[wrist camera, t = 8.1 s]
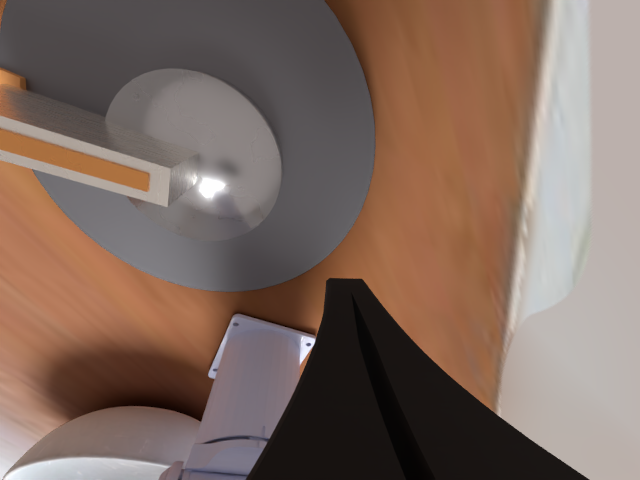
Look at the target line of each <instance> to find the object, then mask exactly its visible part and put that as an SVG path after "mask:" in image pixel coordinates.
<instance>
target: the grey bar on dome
mask: <svg viewBox="0 0 640 480" xmlns="http://www.w3.org/2000/svg"><path fill="white" fill-rule="evenodd" d="M0 160H2V161H6V162H9V163H13V164H16V165H20V166H23V167H27V168H30V169H34V170H38V171H41V172H45V173H48V174H52V175H55V176H59V177H62V178H66V179H70V180H73V181H77V182H80V183H84V184H87V185H91V186H94V187H98V188H101V189H105V190H109V191H112V192H116V193H119V194H123V195H125V196H126V197H127V198H128V199H129V200H130V202H131V203H132V204H133V205H134V206H135V207H136V208H137V209H138V210H139V211H140V212H141V213H143V214H144V215H145V216H146V217H148V218H149V219H150V220H152V221H153V222H155V223H156V224H158V225H159V226H161V227H163V228H165V229H167V230H168V231H171V232H173V233H175V234H178V235H181V236H184V237H187V238H192V239H196V240H204V241H220V240H227V239H232V238H236V237H238V236H241V235H243V234H245V233H247V232H249V231H251V230H253V229H254V228H255V227H257V226H258V225H259V224H260V223H261V222H262V221H263V220H264V219H265V218H266V217H267V216H268V214H269V213H270V212H271V210H272V208H273V206H274V204H275V202H276V199H277V197H278V194H279V190H280V186H281V182H282V177H283V157H282V151H281V146H280V143H279V140H278V137H277V135H276V132H275V130H274V128H273V126H272V124H271V122H270V121H269V119H268V117H267V116H266V115H265V113H264V112H263V111H262V109H261V108H260V107H259V106H258V105H257V104H256V103H255V102H254V100H253V99H252V98H251V97H249V96H248V95H247V94H246V93H245V92H243V91H242V90H241V89H239V88H238V87H236V86H235V85H233V84H231V83H230V82H228V81H226V80H223V79H221V78H219V77H217V76H213V75H210V74H207V73H202V72H197V71H191V70H185V69H169V68H168V69H160V70H154V71H151V72H148V73H144V74H142V75H140V76H138V77H136V78H134V79H132V80H131V81H130V82H129V83H127V84H126V85H125V86H124V87H123V88H122V89H121V90H120V91H119V92H118V93H117V94H116V96H115V97H114V99H113V101H112V103H111V104H110V106H109V109H108V112H107V115H106V117H105V116H102V115H99V114H96V113H93V112H90V111H87V110H84V109H81V108H78V107H75V106H72V105H69V104H66V103H63V102H60V101H57V100H54V99H51V98H48V97H45V96H42V95H39V94H36V93H33V92H30V91H27V90H24V89H21V88H18V87H15V86H13V85H10V84H0Z"/></svg>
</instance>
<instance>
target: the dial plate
mask: <svg viewBox="0 0 640 480" xmlns="http://www.w3.org/2000/svg"><path fill="white" fill-rule="evenodd" d="M168 68H169V69H185V70H191V71H197V72H202V73H207V74H210V75H213V76H217V77H219V78H221V79H223V80H226V81H228V82H230V83H231V84H233V85H235V86H236V87H238V88H239V89H241V90H242V91H243V92H245V93H246V94H247V95H248V96H249V97H251V98H252V99H253V100H254V102H255V103H256V104H257V105H258V106H259V107H260V108H261V109H262V111H263V112H264V113H265V115H266V116H267V117H268V119H269V121H270V122H271V124H272V126H273V128H274V130H275V132H276V135H277V137H278V140H279V143H280V146H281V151H282V157H283V177H282V182H281V186H280V190H279V194H278V197H277V199H276V202H275V204H274V206H273V208H272V210H271V212H270V213H269V214H268V216H267V217H266V218H265V219H264V220H263V221H262V222H261V223H260V224H259V225H258V226H257V227H255V228H254V229H253V230H251V231H249V232H247V233H245V234H243V235H241V236H238V237H236V238H232V239H227V240H220V241H204V240H196V239H192V238H187V237H184V236H181V235H178V234H175V233H173V232H171V231H168V230H167V229H165V228H163V227H161V226H159V225H158V224H156V223H155V222H153V221H152V220H150V219H149V218H148V217H146V216H145V215H144V214H143V213H141V212H140V211H139V210H138V209H137V208H136V207H135V206H134V205H133V204H132V203H131V202H130V200H129V199H128V198H127V197H126V196H125V195H123V194H119V193H116V192H112V191H109V190H105V189H101V188H98V187H94V186H91V185H87V184H84V183H80V182H77V181H73V180H70V179H66V178H62V177H59V176H55V175H52V174H48V173H45V172H41V171H38V170H34V169H32V170H33V172H34V174H35V175H36V177H37V179H38V180H39V181H40V183H41V184H42V186H43V187H44V188H45V190H46V191H47V193H48V194H49V195H50V197H51V198H52V199H53V200H54V202H55V203H56V204H57V205H58V206H59V207H60V209H61V210H62V211H63V212H64V213H65V214H66V215H67V217H68V218H69V219H71V220H72V221H73V222H74V223H75V224H76V225H77V226H78V227H79V228H80V229H81V230H82V231H83V232H84V233H85V234H86V235H88V236H89V237H90V238H91V239H93V240H94V241H95V242H96V243H98V244H99V245H100V246H101V247H103V248H104V249H106V250H107V251H109V252H110V253H112V254H113V255H115V256H116V257H118V258H119V259H121V260H122V261H124V262H126V263H128V264H130V265H131V266H133V267H135V268H137V269H139V270H141V271H143V272H145V273H148V274H150V275H152V276H154V277H157V278H160V279H162V280H165V281H168V282H171V283H174V284H178V285H182V286H186V287H190V288H195V289H201V290H208V291H221V292H237V291H249V290H256V289H262V288H266V287H270V286H274V285H278V284H280V283H283V282H286V281H288V280H291V279H293V278H295V277H297V276H299V275H301V274H303V273H305V272H307V271H308V270H310V269H311V268H313V267H314V266H316V265H317V264H319V263H320V262H321V261H322V260H323V259H325V258H326V257H327V256H328V255H329V254H330V253H331V252H332V251H333V250H334V249H335V248H336V247H337V246H338V245H339V244H340V243H341V241H342V240H343V239H344V238H345V236H346V235H347V233H348V232H349V231H350V229H351V228H352V226H353V225H354V223H355V221H356V219H357V217H358V215H359V213H360V211H361V209H362V207H363V204H364V201H365V199H366V196H367V193H368V190H369V186H370V182H371V177H372V173H373V167H374V156H375V123H374V116H373V110H372V103H371V97H370V94H369V90H368V87H367V83H366V80H365V76H364V72H363V70H362V67H361V65H360V62H359V60H358V58H357V55H356V53H355V50H354V48H353V46H352V43H351V42H350V40H349V38H348V36H347V35H346V33H345V31H344V29H343V28H342V26H341V24H340V22H339V21H338V19H337V17H336V15H335V14H334V13H333V11H332V10H331V9H330V7H329V6H328V5H327V3H326V2H325V1H324V0H7V2H6V5H5V9H4V12H3V15H2V21H1V29H0V84H10V85H13V86H15V87H18V88H21V89H24V90H27V91H30V92H33V93H36V94H39V95H42V96H45V97H48V98H51V99H54V100H57V101H60V102H63V103H66V104H69V105H72V106H75V107H78V108H81V109H84V110H87V111H90V112H93V113H96V114H99V115H102V116H105V117H106V115H107V112H108V109H109V106H110V104H111V103H112V101H113V99H114V97H115V96H116V94H117V93H118V92H119V91H120V90H121V89H122V88H123V87H124V86H125V85H126V84H127V83H129V82H130V81H131V80H132V79H134V78H136V77H138V76H140V75H142V74H144V73H148V72H151V71H154V70H160V69H168Z"/></svg>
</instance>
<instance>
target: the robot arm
mask: <svg viewBox="0 0 640 480" xmlns="http://www.w3.org/2000/svg"><path fill="white" fill-rule="evenodd" d="M313 345H314V346H313ZM312 347H313V348H312ZM311 348H312V351H311V354H310V356H309V359H308V361H307V364H306V366H305V368H304V371H303V373H302V375H301V377H300V364H301V363H302V361H303V360H304V358H305V357H306V355H307V354H308V352H309V351H310V349H311ZM208 376H209V377H210V378H213V379H215V380H214V383H213V386H212V389H211V392H210V396H209V399H208V402H207V405H206V408H205V411H204V414H203V418H202V421H201V424H200V427H199V430H198V433H197V437H196V440H195V443H194V444H193V445H192V448H191V451H190V454H189V457H188V460H187V463H186V466H185V469H182V466H183V463H184V462H183V461H175V462H174V463H173V464H172V466H171V467H169V468H168V469H166V470H165V471H164V472H163V473H162V474H161V475H160V477H159V479H158V480H589V479H588V478H586V477H585V476H583V475H581V474H580V473H578V472H577V471H576V470H574V469H573V468H571V467H570V466H568V465H567V464H565V463H564V462H562V461H561V460H560V459H558V458H557V457H555V456H554V455H552V454H551V453H549V452H547V451H546V450H545V449H543V448H542V447H540V446H539V445H537V444H536V443H534V442H533V441H532V440H530V439H529V438H528V437H526V436H525V435H523V434H522V433H521V432H519V431H518V430H517V429H515V428H514V427H513V426H511V425H510V424H508V423H507V422H506V421H504V420H503V419H502V418H500V417H499V416H498V415H497V414H495V413H494V412H493V411H491V410H490V409H489V408H488V407H486V406H485V405H484V404H482V403H481V402H480V401H479V400H478V399H476V398H475V397H474V396H473V395H472V394H470V393H469V392H468V391H467V390H465V389H464V388H463V387H462V386H461V385H459V384H458V383H457V382H456V381H455V380H453V379H452V378H451V377H450V376H449V375H448V374H447V373H446V372H444V371H443V370H442V369H441V368H440V367H439V366H438V365H437V364H436V363H435V362H434V361H433V360H432V359H430V358H429V357H428V356H427V355H426V354H425V353H424V352H423V351H422V350H421V349H420V348H419V347H418V346H417V345H416V343H415V342H414V341H413V340H412V339H411V338H410V337H409V336H408V335H407V334H406V333H405V332H404V330H403V329H402V328H401V327H400V326H399V325H398V324H397V322H396V321H395V320H394V319H393V318H392V317H391V315H390V314H389V313H388V312H387V311H386V309H385V308H384V307H383V306H382V304H381V303H380V302H379V300H378V299H377V298H376V297H375V295H374V294H373V293H372V291H371V290H370V289H369V287H368V286H367V284H366V283H365V282H364V281H363V280H362V279H340V278H330V279H328V280H327V281H326V292H325V302H324V313H323V317H322V321H321V324H320V327H319V331H318V334H317V337H315V336H314V335H312V334H308V333H305V332H301V331H298V330H294V329H291V328H287V327H284V326H280V325H277V324H273V323H270V322H266V321H263V320H259V319H256V318H252V317H249V316H245V315H242V314H235V315H233V317H232V319H231V321H230V324H229V326H228V328H227V331H226V333H225V335H224V338H223V340H222V342H221V345H220V347H219V349H218V352H217V354H216V356H215V359H214V361H213V363H212V366H211V368H210V370H209V373H208ZM299 377H300V380H299Z"/></svg>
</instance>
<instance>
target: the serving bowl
mask: <svg viewBox="0 0 640 480" xmlns="http://www.w3.org/2000/svg"><path fill="white" fill-rule="evenodd" d="M200 424H201V422H200V421H198V420H196V419H194V418H192V417H190V416H187V415H185V414H182V413H179V412H176V411H172V410H167V409H162V408H155V407H146V406H123V407H113V408H107V409H102V410H98V411H94V412H91V413H88V414H85V415H82V416H80V417H78V418H75V419H73V420H71V421H69V422H67V423H65V424H63V425H62V426H60V427H58V428H56V429H55V430H53V431H52V432H50V433H49V434H48V435H46V436H45V437H43V438H42V439H41V440H40V441H39V442H37V443H36V444H35V445H34V446H33V447H32V448H30V449H29V450H28V451H27V452H26V453H25V454H24V455H23V456H22V457H21V458H20V459H19V460H18V461H17V462H16V463H15V464H14V465H13V466H12V467H11V468H10V470H9V471H8V472H7V473H6V474H5V476H4V477H3V479H2V480H158V479H159V477H160V475H161V474H162V473H163V472H164V471H165V470H166V469H168V468H169V467H171V466H172V464H173V463H174V462H175V461H183V462H184V463H183V466H182V469H185V466H186V463H187V460H188V457H189V454H190V451H191V448H192V445H193V444H194V443H195V440H196V437H197V433H198V430H199V427H200Z"/></svg>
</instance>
